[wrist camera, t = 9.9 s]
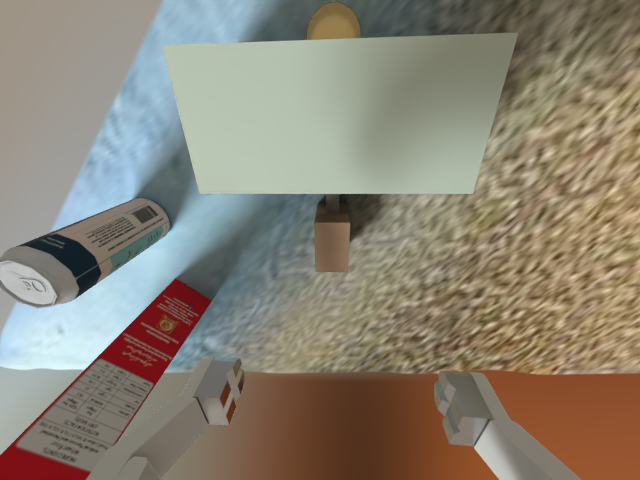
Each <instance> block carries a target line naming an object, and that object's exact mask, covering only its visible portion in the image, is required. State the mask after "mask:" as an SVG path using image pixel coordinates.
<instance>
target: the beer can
mask: <svg viewBox="0 0 640 480" xmlns="http://www.w3.org/2000/svg"><path fill="white" fill-rule="evenodd" d="M169 228H170V222H169V218H168V216H167V214H166V213H165V211H164V210H163V209H162V208H161V207H160V206H159V205H158V204H156V203H155V202H153V201H151V200H148V199H144V198H135V199H132V200H130V201H128V202H125V203H123V204H120V205H118V206H115V207H113V208H111V209H108V210H106V211H103V212H101V213H98V214H96V215H93V216H91V217H88V218H86V219H83V220H81V221H78V222H76V223H73V224H71V225H68V226H66V227H63V228H61V229H59V230H56V231H54V232H51V233H49V234H46V235H44V236H41V237H39V238H36V239H34V240H31V241H29V242H26V243H24V244H21V245H19V246H16V247H13V248H10V249H8V250H7V251H6V252H5V253H4V254H3V255H2V256H1V257H0V289H1V290H2V291H3V292H5V293H6V294H7V295H9V296H10V297H12V298H13V299H15V300H16V301H18V302H19V303H22V304H25V305H29V306H32V307H35V308H38V309H39V308H45V307H51V306H54V305H57V304H63V303H67V302H70V301H72V300H74V299H75V298H77V297H78V296H80V295H81V294H83V293H84V292H85V291H87V290H88V289H90V288H91V287H93V286H94V285H95V284H97V283H98V282H100V281H101V280H103V279H104V278H105V277H107V276H108V275H110V274H111V273H113V272H114V271H116V270H117V269H118V268H120V267H121V266H123V265H124V264H126V263H127V262H128V261H130V260H131V259H133V258H134V257H136V256H137V255H139V254H140V253H141V252H143V251H144V250H146V249H147V248H149V247H150V246H151V245H153V244H154V243H156V242H157V241H159V240H160V239H161V238H163V237H164V236H166V234H167V233H168V232H169Z"/></svg>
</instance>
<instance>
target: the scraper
mask: <svg viewBox="0 0 640 480" xmlns="http://www.w3.org/2000/svg"><path fill="white" fill-rule="evenodd" d="M314 225H315V263H316V272H348V259H349V238H350V218H349V212H348V205H347V204H339V194H326V204H318V206H317V212H316V217H315V222H314Z"/></svg>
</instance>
